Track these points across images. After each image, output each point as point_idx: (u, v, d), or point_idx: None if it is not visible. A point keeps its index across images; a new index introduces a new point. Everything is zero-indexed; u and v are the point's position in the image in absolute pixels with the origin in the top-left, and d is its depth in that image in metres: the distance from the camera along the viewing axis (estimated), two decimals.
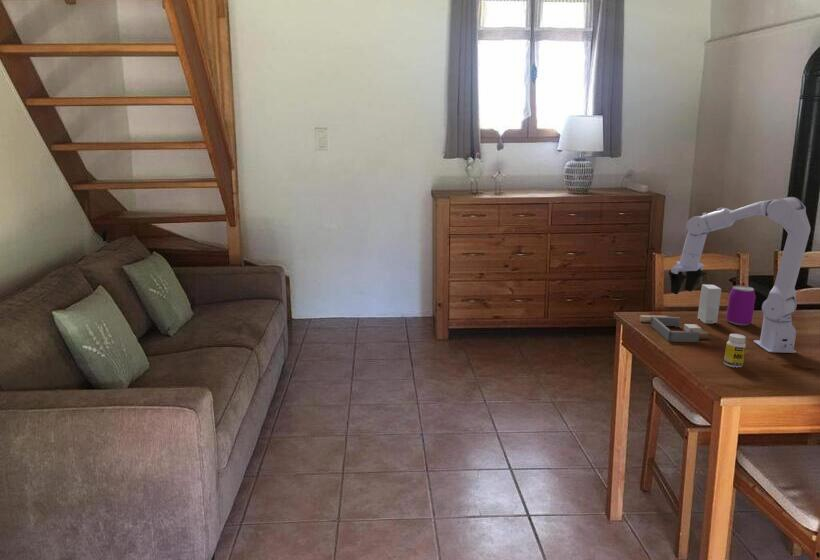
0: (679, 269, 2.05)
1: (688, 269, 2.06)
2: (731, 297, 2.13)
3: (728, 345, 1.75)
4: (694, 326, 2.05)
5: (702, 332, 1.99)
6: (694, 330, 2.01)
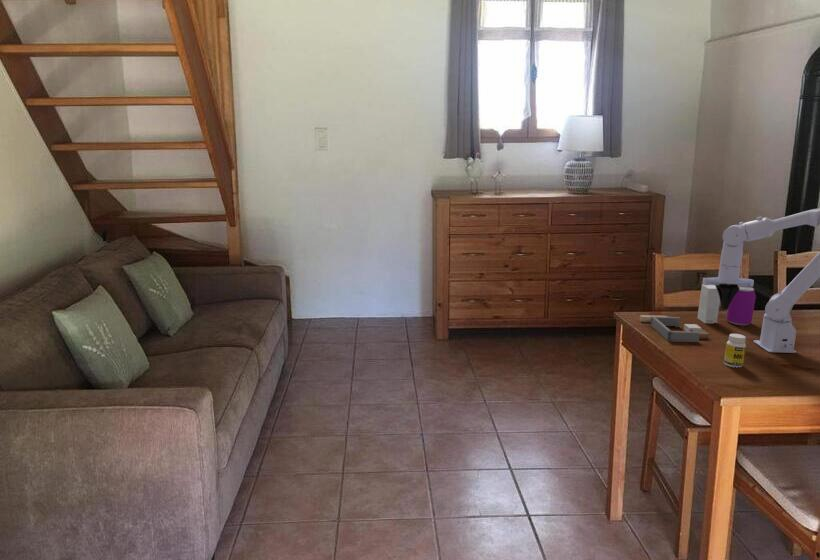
0: (708, 280, 1.95)
1: (721, 281, 1.94)
2: None
3: (728, 345, 1.75)
4: (694, 326, 2.05)
5: (702, 332, 1.99)
6: (694, 330, 2.01)
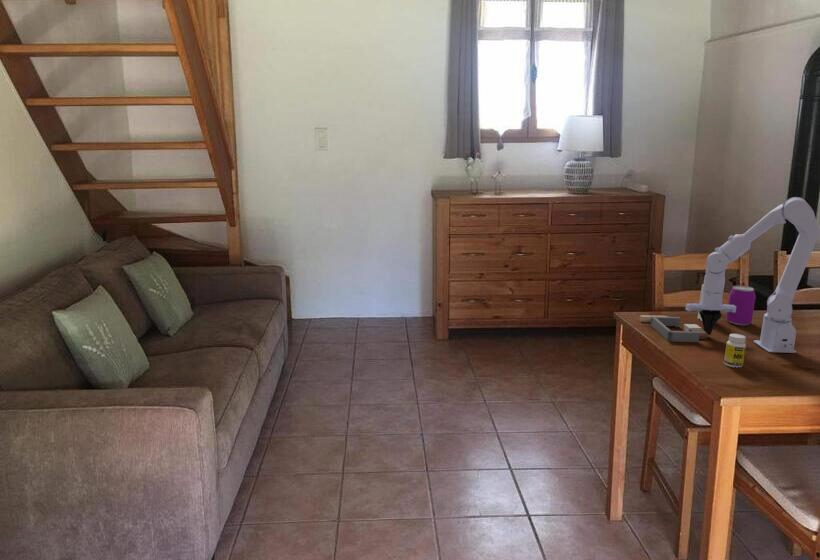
0: (691, 306, 1.97)
1: (703, 307, 1.96)
2: (731, 297, 2.13)
3: (728, 345, 1.75)
4: (694, 326, 2.05)
5: (700, 331, 1.99)
6: (692, 329, 2.01)
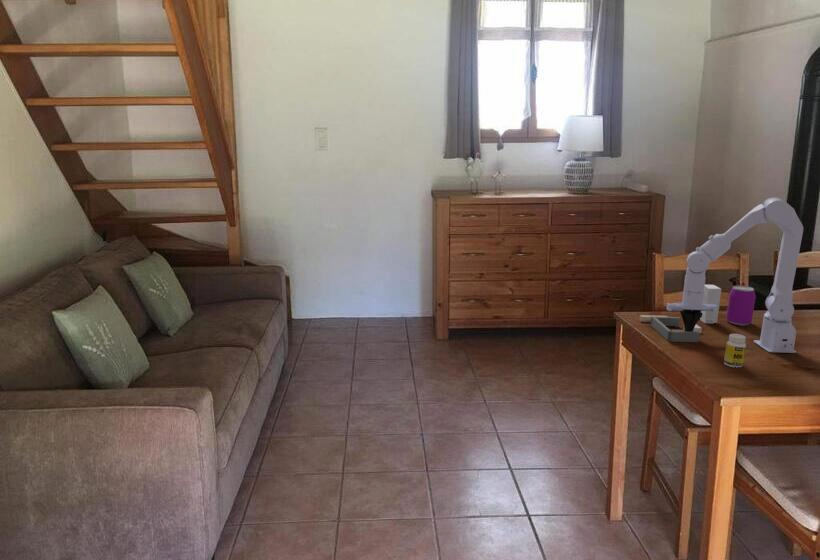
0: (672, 306, 1.97)
1: (684, 307, 1.96)
2: (731, 297, 2.13)
3: (728, 345, 1.75)
4: None
5: None
6: (674, 330, 2.01)
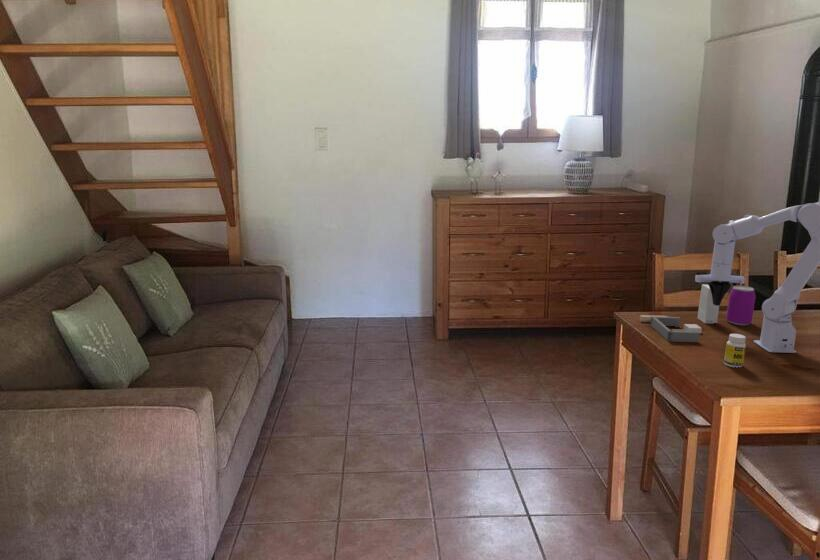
0: (701, 277, 2.01)
1: (713, 278, 1.99)
2: (731, 297, 2.13)
3: (728, 345, 1.75)
4: (694, 326, 2.05)
5: None
6: (674, 330, 2.01)
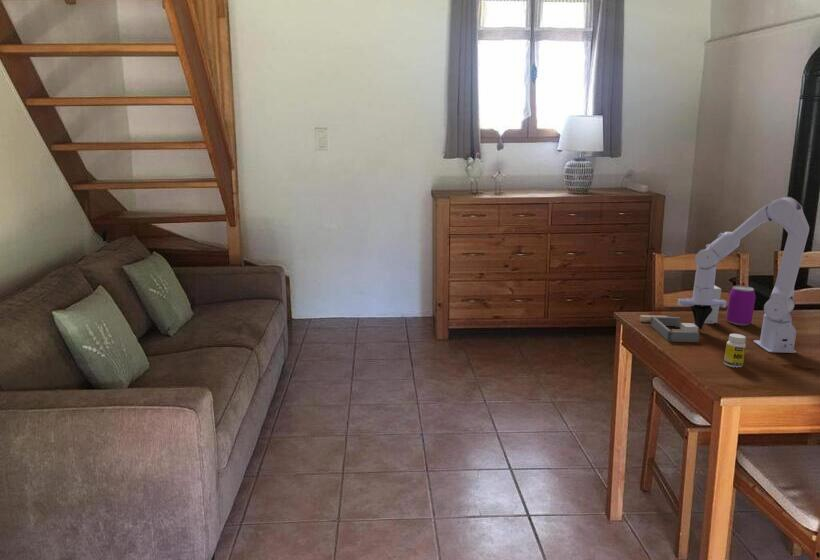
0: (683, 301, 2.03)
1: (695, 302, 2.01)
2: (731, 297, 2.13)
3: (728, 345, 1.75)
4: (691, 325, 2.05)
5: None
6: (674, 330, 2.01)
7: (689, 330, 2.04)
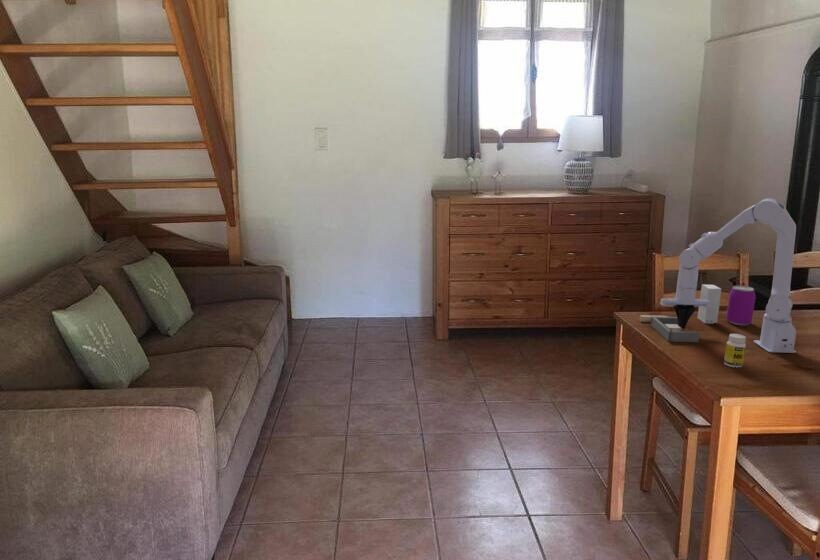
0: (666, 301, 2.03)
1: (677, 302, 2.01)
2: (731, 297, 2.13)
3: (728, 345, 1.75)
4: (674, 326, 2.05)
5: None
6: (674, 330, 2.01)
7: None
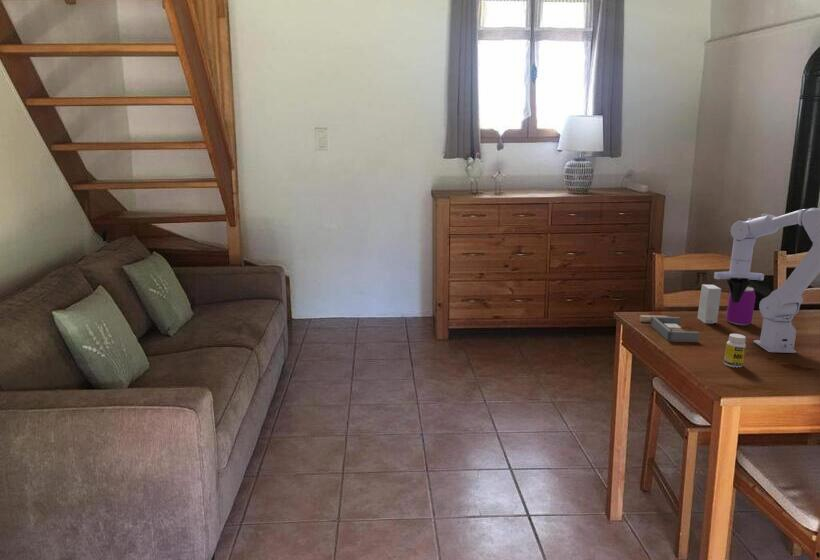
0: (720, 274, 2.01)
1: (732, 275, 2.00)
2: (731, 297, 2.13)
3: (728, 345, 1.75)
4: (674, 325, 2.05)
5: None
6: (674, 330, 2.01)
7: None
